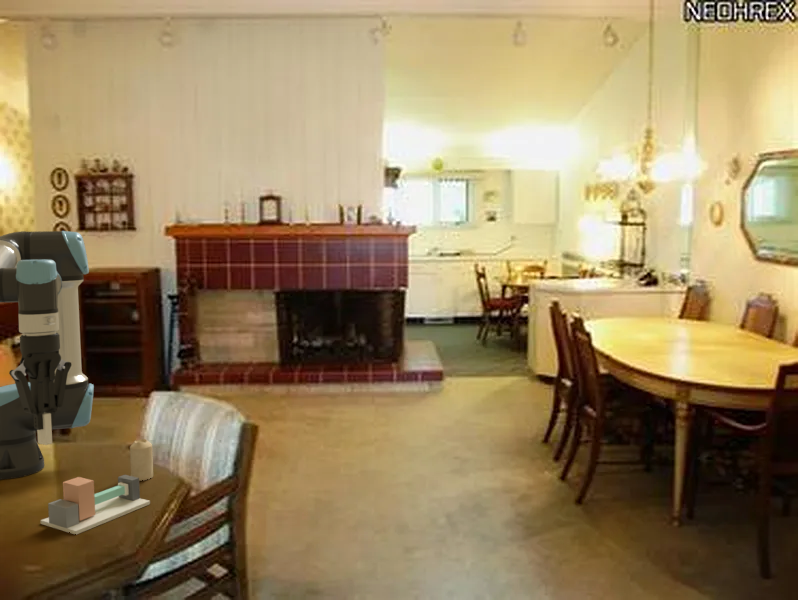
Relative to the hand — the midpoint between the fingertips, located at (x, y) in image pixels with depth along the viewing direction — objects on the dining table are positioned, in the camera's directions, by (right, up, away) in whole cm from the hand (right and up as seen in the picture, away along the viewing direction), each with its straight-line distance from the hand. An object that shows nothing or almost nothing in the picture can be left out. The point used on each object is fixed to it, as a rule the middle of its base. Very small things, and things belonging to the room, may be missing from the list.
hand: (45, 443), depth 153 cm
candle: (+8, -17, +37) cm, 41 cm away
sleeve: (+4, -18, +8) cm, 20 cm away
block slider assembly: (+6, -19, +12) cm, 23 cm away
